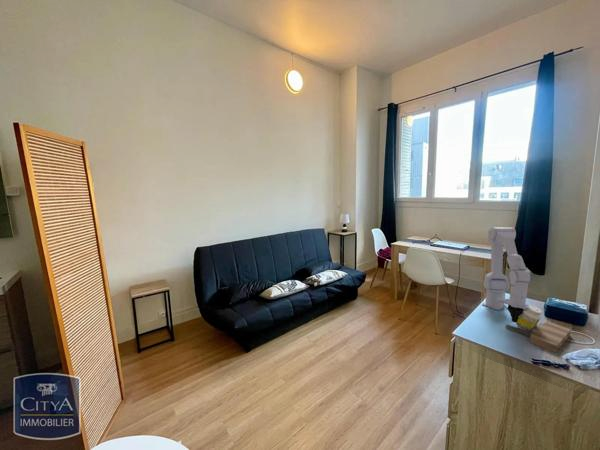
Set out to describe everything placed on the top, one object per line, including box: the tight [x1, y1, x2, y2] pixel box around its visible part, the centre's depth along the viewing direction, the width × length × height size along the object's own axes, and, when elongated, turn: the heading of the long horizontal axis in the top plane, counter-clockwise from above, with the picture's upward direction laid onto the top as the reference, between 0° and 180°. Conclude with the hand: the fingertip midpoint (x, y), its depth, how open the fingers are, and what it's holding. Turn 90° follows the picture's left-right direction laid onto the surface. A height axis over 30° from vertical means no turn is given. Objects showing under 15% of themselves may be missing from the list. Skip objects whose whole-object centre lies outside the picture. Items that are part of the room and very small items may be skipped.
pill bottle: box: [515, 304, 542, 333], centre depth 112 cm, size 6×6×11 cm
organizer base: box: [505, 321, 572, 353], centre depth 110 cm, size 20×18×3 cm
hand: (514, 321), depth 117 cm, fingers closed
